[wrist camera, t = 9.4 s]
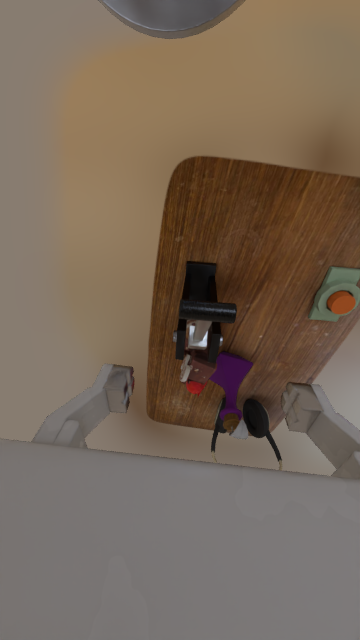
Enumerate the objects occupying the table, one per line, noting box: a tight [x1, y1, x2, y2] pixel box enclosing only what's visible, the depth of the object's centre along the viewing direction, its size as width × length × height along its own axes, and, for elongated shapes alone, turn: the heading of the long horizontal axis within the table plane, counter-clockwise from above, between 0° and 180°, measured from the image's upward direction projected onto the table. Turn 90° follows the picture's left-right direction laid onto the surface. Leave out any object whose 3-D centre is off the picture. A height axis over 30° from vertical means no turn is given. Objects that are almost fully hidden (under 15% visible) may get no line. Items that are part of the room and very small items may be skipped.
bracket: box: [173, 261, 223, 363], centre depth 34 cm, size 8×6×18 cm
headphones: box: [211, 397, 282, 470], centre depth 51 cm, size 9×15×20 cm, turn 85°
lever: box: [179, 299, 237, 350], centre depth 23 cm, size 14×4×2 cm
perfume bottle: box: [209, 351, 253, 439], centre depth 44 cm, size 8×8×18 cm
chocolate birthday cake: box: [180, 319, 217, 396], centre depth 41 cm, size 9×8×15 cm
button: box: [327, 291, 356, 314], centre depth 38 cm, size 4×4×2 cm
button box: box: [308, 267, 360, 321], centre depth 40 cm, size 10×6×2 cm, turn 177°
